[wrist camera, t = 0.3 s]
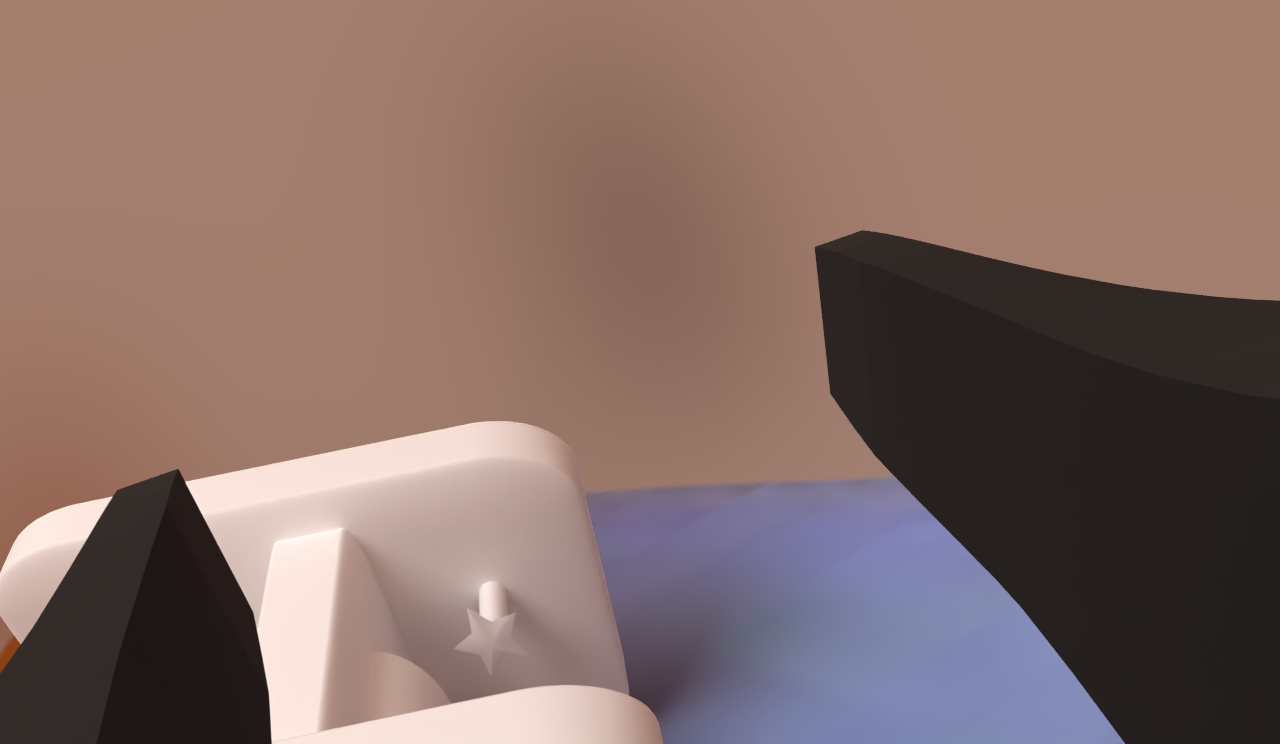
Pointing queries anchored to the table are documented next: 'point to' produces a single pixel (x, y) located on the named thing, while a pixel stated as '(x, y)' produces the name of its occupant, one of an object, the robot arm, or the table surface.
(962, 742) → the table surface
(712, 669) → the table surface
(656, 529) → the table surface
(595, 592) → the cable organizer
